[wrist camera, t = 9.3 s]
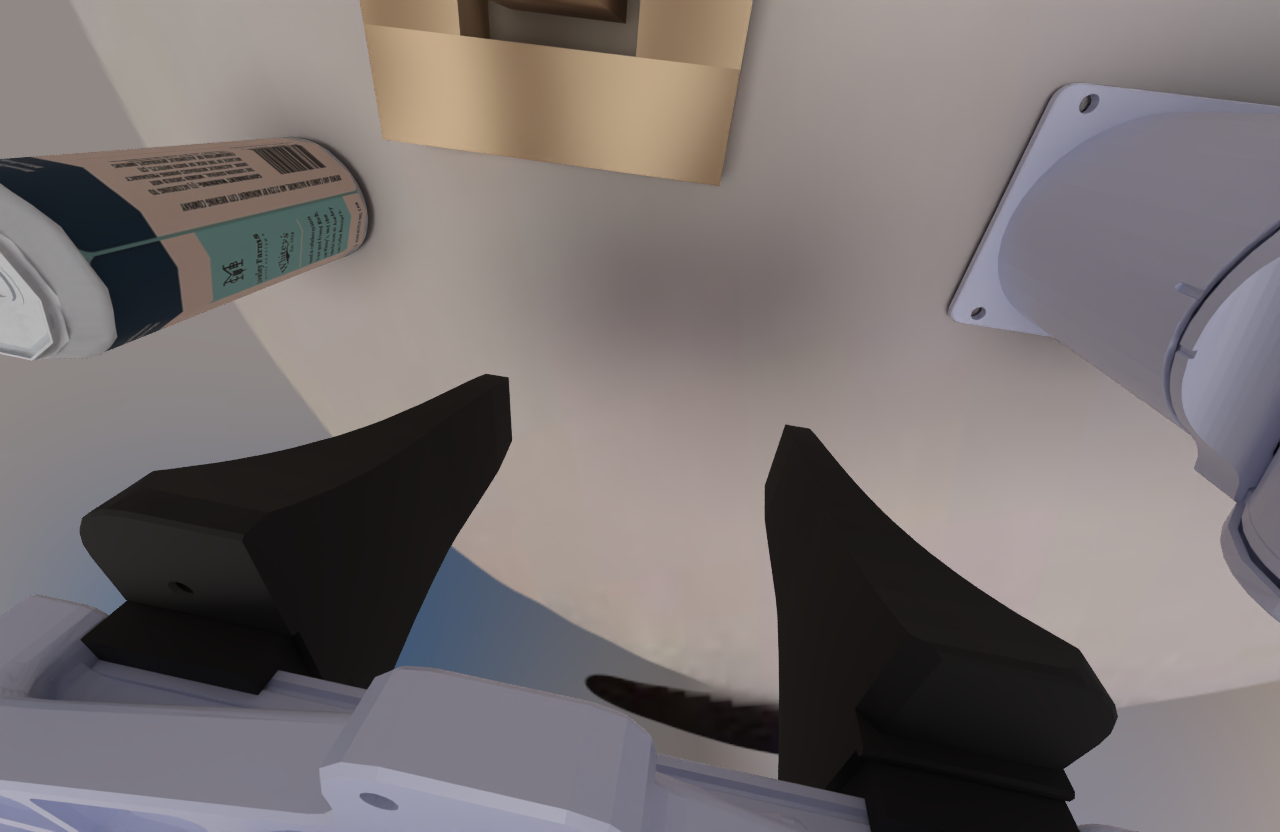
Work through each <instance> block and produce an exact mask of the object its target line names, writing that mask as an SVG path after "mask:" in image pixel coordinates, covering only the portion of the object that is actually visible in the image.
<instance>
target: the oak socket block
mask: <svg viewBox="0 0 1280 832" xmlns="http://www.w3.org/2000/svg"><path fill="white" fill-rule="evenodd" d="M752 3H753V0H628V2H627V16H626V24H625V23H617V22H609V21H601V20H593V19H584V18H576V17H568V16H560V15H552V14H544V13H536V12H528V11H520V10H512V9H509V8H506V7H504V6H502V5H500V4H497V3H495V2H493V1H490V0H360V6H361V11H362V17H363V23H364V29H365V35H366V41H367V47H368V53H369V59H370V64H371V70H372V76H373V82H374V88H375V94H376V100H377V106H378V112H379V118H380V123H381V129H382V135H383V139H385V140H392V141H399V142H406V143H413V144H421V145H428V146H435V147H442V148H450V149H457V150H464V151H471V152H479V153H486V154H493V155H500V156H507V157H515V158H522V159H529V160H536V161H544V162H551V163H558V164H565V165H573V166H580V167H587V168H594V169H602V170H609V171H616V172H623V173H630V174H638V175H645V176H652V177H659V178H667V179H674V180H681V181H688V182H696V183H703V184H710V185H717V186H720V180H721V175H722V169H723V164H724V158H725V153H726V147H727V141H728V136H729V130H730V125H731V119H732V114H733V108H734V103H735V97H736V92H737V86H738V80H739V75H740V69H741V64H742V58H743V53H744V47H745V42H746V36H747V31H748V25H749V19H750V14H751V8H752Z"/></svg>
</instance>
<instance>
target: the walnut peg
mask: <svg viewBox="0 0 1280 832" xmlns="http://www.w3.org/2000/svg"><path fill="white" fill-rule="evenodd" d="M490 1H493V2H495V3H497V4H500V5H502V6H504V7H506V8H509V9H512V10H520V11H528V12H536V13H544V14H552V15H560V16H568V17H576V18H584V19H593V20H601V21H609V22H617V23H625V24H626V16H627V2H628V0H490Z"/></svg>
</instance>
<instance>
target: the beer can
mask: <svg viewBox="0 0 1280 832" xmlns="http://www.w3.org/2000/svg"><path fill="white" fill-rule="evenodd" d="M367 226H368V215H367V208H366V203H365V200H364V197H363V194H362V192H361V190H360V188H359V186H358V184H357V182H356V180H355V179H354V177H353V176H352V174H351V173H350V172H349V171H348V169H347V168H346V167H345V165H344V164H343V163H342V162H341V161H340V160H338V159H337V158H336V157H335V156H334V155H333V154H332V153H331V152H329V151H328V150H327V149H325V148H323V147H322V146H320V145H318V144H316V143H314V142H312V141H309V140H306V139H303V138H296V137H284V138H271V139H258V140H245V141H232V142H219V143H206V144H193V145H180V146H167V147H154V148H141V149H127V150H115V151H101V152H88V153H75V154H62V155H50V156H36V157H23V158H10V159H0V354H4V355H8V356H13V357H17V358H22V359H27V360H32V361H33V360H36V359H39V358H44V359H45V358H46V359H84V358H90V357H94V356H97V355H101V354H102V353H103V352H106V351H108V350H111V349H113V348H116V347H118V346H121V345H123V344H125V343H128V342H131V341H133V340H136V339H138V338H141V337H143V336H146V335H148V334H151V333H153V332H156V331H158V330H161V329H163V328H166V327H168V326H171V325H173V324H176V323H178V322H181V321H183V320H186V319H188V318H191V317H193V316H196V315H198V314H200V313H203V312H206V311H208V310H211V309H213V308H216V307H218V306H221V305H223V304H226V303H228V302H231V301H233V300H236V299H238V298H241V297H243V296H246V295H248V294H251V293H253V292H256V291H258V290H261V289H263V288H266V287H268V286H271V285H273V284H276V283H278V282H281V281H283V280H286V279H288V278H291V277H294V276H296V275H299V274H301V273H304V272H306V271H309V270H311V269H314V268H316V267H319V266H321V265H324V264H326V263H329V262H331V261H334V260H336V259H339V258H341V257H344V256H348V255H350V254H351V253H353V252H355V251H356V250H357V249H358V248H359V247H360V246H361V245H362V243H363V241H364V239H365V237H366V233H367Z"/></svg>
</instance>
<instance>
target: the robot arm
mask: <svg viewBox="0 0 1280 832" xmlns="http://www.w3.org/2000/svg"><path fill="white" fill-rule="evenodd" d="M1088 95H1090V96H1091V99H1092V100H1091V104H1090V106H1089V107H1088V108H1087V110H1085V111H1084V112H1082V113H1081V112H1080V110H1079V106H1080V103H1081V101H1082V100H1083V99H1084V98H1085V97H1086V96H1088ZM978 307H982V309H981V312H980V313H979V314H977V315H976V316H971V312H972V311H973V310H974V309H976V308H978ZM948 314H949V316H950V317H951V318H952V319H953V320H954V321H955V322H958V323H963V324H970V325H976V326H983V327H990V328H996V329H1003V330H1009V331H1016V332H1022V333H1029V334H1036V335H1042V336H1049V337H1054V338H1055V339H1057V340H1058V341H1059V342H1061V343H1062V344H1064V345H1065V346H1066V347H1068V348H1069V349H1071V350H1072V351H1073V352H1075V353H1076V354H1078V355H1079V356H1080V357H1082V358H1083V359H1085V360H1086V361H1087V362H1089V363H1090V364H1092V365H1093V366H1094V367H1096V368H1097V369H1099V370H1100V371H1101V372H1103V373H1104V374H1106V375H1107V376H1108V377H1110V378H1111V379H1113V380H1114V381H1115V382H1117V383H1118V384H1120V385H1121V386H1122V387H1124V388H1125V389H1127V390H1128V391H1130V392H1131V393H1132V394H1134V395H1135V396H1137V397H1138V398H1139V399H1141V400H1142V401H1144V402H1145V403H1146V404H1148V405H1149V406H1151V407H1152V408H1153V409H1155V410H1156V411H1158V412H1159V413H1160V414H1162V415H1163V416H1165V417H1166V418H1167V419H1169V420H1170V421H1172V422H1173V423H1174V424H1176V425H1177V426H1179V427H1180V428H1181V429H1183V430H1184V431H1186V432H1187V433H1188V434H1190V435H1191V436H1192V437H1193V438H1194V440H1195V441H1196V444H1197V447H1198V458H1197V461H1196V464H1195V467H1194V469H1195V470H1196V471H1197V472H1198V473H1199V474H1201V475H1202V476H1203V477H1205V478H1206V479H1207V480H1208V481H1210V482H1211V483H1212V484H1213V485H1215V486H1216V487H1217V488H1219V489H1220V490H1221V491H1222V492H1224V493H1225V494H1226V495H1228V496H1229V497H1230V498H1231V499H1233V500H1234V501H1236V502H1237V503H1236V505H1235V506H1234V508H1233V509H1232V511H1231V513H1230V514H1229V516H1228V517H1227V519H1226V521H1225V522H1224V524H1223V526H1222V532H1221V538H1220V542H1221V547H1222V552H1223V557H1224V559H1225V561H1226V563H1227V565H1228V567H1229V569H1230V570H1231V572H1232V574H1233V576H1234V577H1235V578H1236V579H1237V581H1238V582H1239V583H1240V584H1241V586H1242V587H1243V588H1244V589H1245V591H1246V592H1247V593H1248V594H1249V595H1250V596H1251V597H1252V598H1253V599H1254V600H1255V601H1256V602H1257V603H1258V604H1259V605H1260V606H1261V607H1262V608H1263V609H1264V610H1265V611H1266V612H1267V613H1268V614H1270V615H1271V616H1272V617H1273V618H1274V619H1276V620H1277V621H1278V622H1280V106H1274V105H1265V104H1257V103H1249V102H1240V101H1232V100H1223V99H1215V98H1206V97H1198V96H1189V95H1181V94H1172V93H1164V92H1155V91H1147V90H1138V89H1130V88H1121V87H1113V86H1104V85H1096V84H1087V83H1072V84H1067V85H1065V86H1063V87H1061V88H1060V89H1059V90H1058V91H1056V92H1055V93H1054V95H1053V96H1052V98H1051V99H1050V101H1049V103H1048V105H1047V107H1046V109H1045V111H1044V113H1043V115H1042V117H1041V119H1040V121H1039V124H1038V126H1037V128H1036V130H1035V132H1034V134H1033V136H1032V138H1031V140H1030V142H1029V144H1028V146H1027V148H1026V150H1025V152H1024V154H1023V156H1022V158H1021V160H1020V162H1019V165H1018V167H1017V169H1016V171H1015V173H1014V175H1013V177H1012V179H1011V181H1010V183H1009V185H1008V187H1007V189H1006V191H1005V193H1004V195H1003V197H1002V199H1001V201H1000V203H999V206H998V208H997V210H996V212H995V214H994V216H993V218H992V220H991V222H990V224H989V226H988V228H987V230H986V232H985V234H984V236H983V238H982V240H981V242H980V244H979V246H978V249H977V251H976V253H975V255H974V257H973V259H972V261H971V263H970V265H969V267H968V269H967V271H966V273H965V275H964V277H963V279H962V281H961V283H960V285H959V287H958V290H957V292H956V294H955V296H954V298H953V300H952V302H951V304H950V306H949V309H948ZM511 442H512V430H511V412H510V394H509V378H508V377H502V376H496V375H490V374H484V375H482V376H479V377H477V378H474V379H472V380H470V381H468V382H466V383H464V384H462V385H460V386H458V387H455V388H453V389H451V390H449V391H447V392H445V393H443V394H441V395H439V396H437V397H435V398H433V399H430V400H428V401H426V402H424V403H422V404H420V405H417V406H415V407H413V408H410V409H408V410H406V411H403V412H401V413H399V414H396V415H394V416H392V417H389V418H387V419H385V420H382V421H380V422H377V423H374V424H371V425H369V426H366V427H363V428H360V429H357V430H354V431H351V432H348V433H345V434H342V435H339V436H336V437H332V438H328V439H324V440H321V441H317V442H313V443H310V444H306V445H302V446H298V447H295V448H291V449H286V450H282V451H277V452H273V453H268V454H263V455H259V456H253V457H247V458H242V459H237V460H231V461H225V462H219V463H211V464H205V465H197V466H190V467H182V468H175V469H168V470H158V471H153V472H151V473H149V474H148V475H146V476H145V477H143V478H142V479H140V480H139V481H138V482H136V483H134V484H133V485H131V486H130V487H128V488H127V489H125V490H124V491H122V492H120V493H119V494H117V495H116V496H114V497H113V498H111V499H110V500H108V501H106V502H105V503H103V504H102V505H100V506H99V507H97V508H96V509H94V510H92V511H91V512H90V513H88V514H87V515H85V516H84V517H83V518H82V521H81V525H80V536H81V539H82V543H83V545H84V547H85V548H86V550H87V551H88V553H89V554H90V556H91V557H92V558H93V560H94V561H95V562H96V563H97V565H98V566H99V567H100V568H101V569H102V571H103V572H104V573H105V574H106V576H107V577H108V578H109V579H110V580H111V582H112V583H113V584H114V586H115V587H116V588H117V589H118V590H119V592H120V593H121V594H122V596H123V597H124V598H125V599H126V600H127V601H126V602H125V603H124V604H123V605H121V606H120V607H119V608H118V609H116V610H115V611H114V612H113V613H112V614H110V615H109V616H108V615H107V614H106V613H104V612H102V611H100V610H98V609H97V608H94V607H91V606H88V605H84V604H80V603H75V602H71V601H66V600H61V599H57V598H52V597H47V596H43V595H29V596H28V597H27V598H25V599H24V600H22V601H21V602H19V603H18V604H17V605H15V606H14V607H12V608H11V609H9V610H8V611H7V612H5V613H4V614H3V615H1V616H0V832H1137V831H1132V830H1128V829H1123V828H1118V827H1114V826H1109V825H1101V824H1086V825H1080V826H1077V825H1076V823H1075V821H1074V819H1073V816H1072V814H1071V812H1070V810H1069V808H1068V806H1067V804H1066V802H1065V801H1069V802H1070V801H1071V800H1073V799H1074V798H1075V791H1074V790H1073V787H1072V785H1071V783H1070V781H1069V779H1068V778H1067V775H1066V773H1065V771H1064V770H1063V769H1064V768H1066V767H1067V766H1068V765H1070V764H1071V763H1073V762H1074V761H1075V760H1077V759H1079V758H1080V757H1082V756H1083V755H1084V754H1086V753H1087V752H1089V751H1090V750H1092V749H1093V748H1095V747H1096V746H1097V745H1099V744H1100V743H1101V742H1102V741H1103V740H1104V739H1105V738H1106V737H1108V736H1109V734H1111V732H1112V730H1113V727H1114V725H1115V723H1116V720H1117V717H1118V716H1117V711H1116V707H1115V704H1114V702H1113V701H1112V699H1111V698H1110V696H1109V694H1108V693H1107V691H1106V690H1105V688H1104V687H1103V685H1102V684H1101V682H1100V681H1099V679H1098V677H1097V676H1096V674H1095V673H1094V671H1093V670H1092V668H1091V667H1090V665H1089V664H1088V662H1087V660H1086V659H1085V657H1084V656H1083V654H1082V653H1081V651H1080V650H1079V649H1078V648H1076V647H1074V646H1073V645H1071V644H1069V643H1067V642H1066V641H1064V640H1062V639H1060V638H1059V637H1057V636H1055V635H1053V634H1052V633H1050V632H1048V631H1047V630H1045V629H1043V628H1041V627H1040V626H1038V625H1036V624H1034V623H1033V622H1031V621H1029V620H1028V619H1026V618H1024V617H1022V616H1021V615H1019V614H1017V613H1016V612H1014V611H1012V610H1011V609H1009V608H1008V607H1006V606H1005V605H1003V604H1002V603H1000V602H998V601H997V600H995V599H994V598H992V597H991V596H989V595H988V594H986V593H985V592H983V591H982V590H980V589H979V588H977V587H976V586H974V585H973V584H971V583H970V582H969V581H967V580H966V579H964V578H963V577H961V576H960V575H959V574H957V573H956V572H954V571H953V570H952V569H950V568H949V567H948V566H947V565H945V564H944V563H943V562H941V561H940V560H939V559H937V558H936V557H935V556H933V555H932V554H931V553H929V552H928V551H927V550H926V549H925V548H923V547H922V546H921V545H920V544H918V543H917V542H916V541H915V540H914V539H913V538H911V537H910V536H909V535H908V534H907V533H906V532H905V531H903V530H902V529H901V528H900V527H899V526H898V525H897V524H895V523H894V522H893V521H892V520H891V519H890V518H889V517H888V516H887V515H886V514H885V513H884V512H883V511H882V510H881V509H880V508H879V507H878V506H877V505H876V504H875V503H874V502H873V501H872V500H871V499H870V498H869V497H868V496H867V495H866V494H865V493H864V492H863V491H862V489H861V488H860V487H859V486H858V485H857V484H856V483H855V482H854V481H853V479H852V478H851V477H850V476H849V475H848V474H847V473H846V471H845V470H844V469H843V468H842V467H841V466H840V464H839V463H838V462H837V461H836V459H835V458H834V457H833V456H832V455H831V453H830V452H829V451H828V450H827V448H826V447H825V446H824V445H823V444H822V442H821V441H820V440H819V439H818V437H817V436H816V435H815V434H814V433H813V432H812V431H811V429H808V428H802V427H796V426H791V425H785V427H784V430H783V433H782V436H781V439H780V442H779V445H778V448H777V451H776V454H775V457H774V460H773V463H772V466H771V469H770V472H769V475H768V478H767V481H766V484H765V525H766V532H767V540H768V547H769V554H770V561H771V568H772V575H773V582H774V589H775V596H776V605H777V617H778V648H779V765H778V780H777V779H772V778H768V777H763V776H758V775H754V774H749V773H745V772H740V771H736V770H731V769H727V768H722V767H717V766H713V765H708V764H704V763H699V762H694V761H690V760H686V759H681V758H676V757H672V756H667V755H663V754H658V753H656V751H655V747H654V744H653V740H652V737H651V736H650V735H649V733H648V732H647V731H646V730H645V729H644V728H643V727H642V726H640V725H639V724H638V723H636V722H635V721H634V720H633V719H631V718H630V717H629V716H627V715H626V714H625V713H622V712H619V711H617V710H614V709H611V708H608V707H605V706H602V705H600V704H597V703H594V702H591V701H586V700H581V699H577V698H572V697H567V696H562V695H558V694H553V693H548V692H544V691H539V690H534V689H530V688H525V687H521V686H516V685H511V684H507V683H502V682H497V681H493V680H488V679H483V678H478V677H474V676H469V675H465V674H460V673H455V672H451V671H446V670H441V669H437V668H428V667H413V666H402V667H399V668H397V669H394V667H395V665H396V662H397V660H398V658H399V655H400V653H401V651H402V649H403V646H404V644H405V642H406V639H407V637H408V635H409V632H410V630H411V628H412V625H413V623H414V620H415V619H416V616H417V614H418V612H419V610H420V608H421V605H422V604H423V601H424V599H425V597H426V595H427V593H428V590H429V589H430V586H431V584H432V582H433V580H434V578H435V576H436V574H437V572H438V570H439V568H440V566H441V564H442V562H443V560H444V558H445V556H446V554H447V552H448V550H449V548H450V547H451V545H452V543H453V542H454V540H455V538H456V536H457V535H458V533H459V532H460V530H461V529H462V527H463V525H464V524H465V522H466V521H467V519H468V518H469V516H470V515H471V513H472V511H473V510H474V508H475V507H476V505H477V504H478V502H479V501H480V499H481V498H482V496H483V494H484V493H485V491H486V490H487V488H488V487H489V485H490V483H491V482H492V480H493V479H494V477H495V475H496V474H497V472H498V471H499V468H500V466H501V464H502V462H503V460H504V458H505V456H506V453H507V451H508V449H509V446H510V444H511Z"/></svg>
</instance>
